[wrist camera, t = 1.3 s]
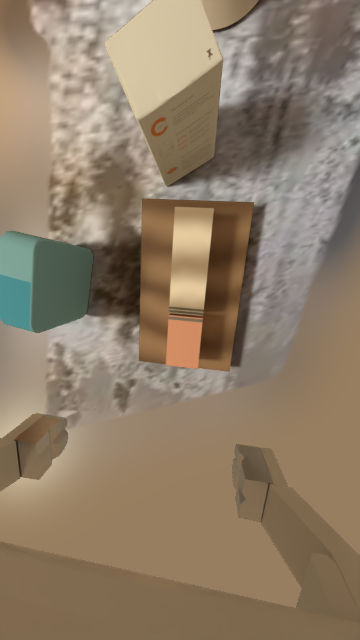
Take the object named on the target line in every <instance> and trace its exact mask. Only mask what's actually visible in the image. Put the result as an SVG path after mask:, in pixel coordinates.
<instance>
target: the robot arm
mask: <svg viewBox="0 0 360 640" xmlns="http://www.w3.org/2000/svg"><path fill="white" fill-rule="evenodd" d="M201 1H202V4H203V6H204V9H205V12H206V14H207V17H208V20H209V23H210V25H211V28H212V30H216V29H221V28H224V27H227V26H229V25H231V24H233V23H235V22H237V21H238V20H240V19H241V18H242V17H244V16H245V15H246V14H247V13H248V12H249V11H250V10H251V9H252V8H253V7H254V6H255V5H256V3H257V2H258V1H259V0H201ZM66 426H67V419H65V418H62V417H57V416H51V415H44V414H39V413H36V414H33V415H31V416H30V417H29V418H28V419H26V420H25V421H24V422H22V423H21V424H20V425H19V426H17V427H16V428H15V429H14V430H12V431H11V432H10V433H8V434H7V435H6V436H5V437H3V438H2V439H1V438H0V491H2V490H3V489H5V488H6V487H8V486H9V485H11V484H12V483H14V482H15V481H17V480H18V479H20V477H24V478H31V479H37V480H39V479H40V478H41V477H42V476H43V474H44V473H45V472H46V471H47V470H48V469H49V467H50V466H51V464H52V459H54V458H56V457H58V456H59V455H60V454H61V453H62V451H63V450H64V448H65V446H66V444H67V440H68V433H67V431H66V430H65V428H66ZM234 452H235V457H236V458H234V459H233V464H232V477H233V486H234V487H235V489H236V490H237V492H236V497H235V499H236V504H237V511H238V517H239V518H244V519H248V520H253V521H257V522H262V523H261V524H262V526H263V527H264V529H265V530H266V532H267V534H268V535H269V537H270V539H271V540H272V542H273V543H274V545H275V547H276V548H277V550H278V551H279V553H280V554H281V556H282V558H283V559H284V561H285V563H286V564H287V566H288V567H289V569H290V570H291V572H292V574H293V575H294V577H295V579H296V580H297V582H298V583H299V585H300V586H301V588H302V589H301V593H300V596H299V599H298V602H297V606H296V608H293V607H288V606H284V605H280V604H275V603H271V602H266V601H262V600H257V599H253V598H249V597H244V596H240V595H235V594H231V593H227V592H222V591H218V590H213V589H209V588H205V587H200V586H195V585H191V584H187V583H182V582H178V581H174V580H169V579H165V578H160V577H156V576H152V575H147V574H142V573H138V572H134V571H129V570H125V569H121V568H116V567H112V566H107V565H103V564H98V563H94V562H89V561H85V560H80V559H76V558H72V557H67V556H62V555H58V554H54V553H49V552H45V551H40V550H36V549H32V548H27V547H23V546H18V545H14V544H9V543H5V542H1V541H0V640H360V555H359V554H358V553H357V552H356V551H355V550H354V549H353V548H352V547H351V546H350V545H349V544H348V543H347V542H346V541H345V540H344V539H343V538H342V537H341V536H340V535H339V534H338V533H337V532H336V531H335V530H334V529H333V528H332V527H331V526H330V525H329V524H328V523H327V522H326V521H325V520H324V519H323V518H322V517H321V516H320V515H319V514H318V513H317V512H316V511H315V510H314V509H313V508H312V507H311V506H310V505H309V504H308V503H307V502H306V501H305V500H304V499H303V498H302V497H301V496H300V495H299V494H298V493H297V492H296V491H295V490H294V489H293V488H290V487H288V485H287V482H286V480H285V478H284V475H283V474H282V471H281V469H280V466H279V464H278V462H277V459H276V457H275V455H274V452H273V451H272V449H269V448H260V447H253V446H246V445H238V444H236V446H235V451H234Z"/></svg>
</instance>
